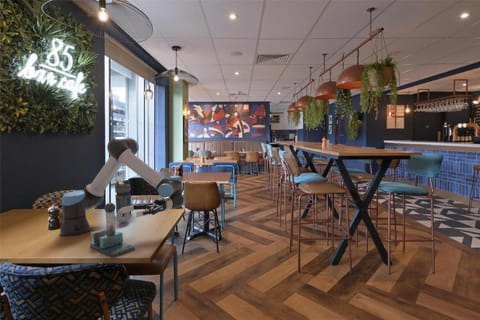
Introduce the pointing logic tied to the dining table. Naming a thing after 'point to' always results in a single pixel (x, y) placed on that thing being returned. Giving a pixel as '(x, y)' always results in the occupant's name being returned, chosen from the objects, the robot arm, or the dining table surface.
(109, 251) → the nutcracker base
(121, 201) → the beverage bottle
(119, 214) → the donut
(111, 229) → the jaw
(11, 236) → the dining table surface
